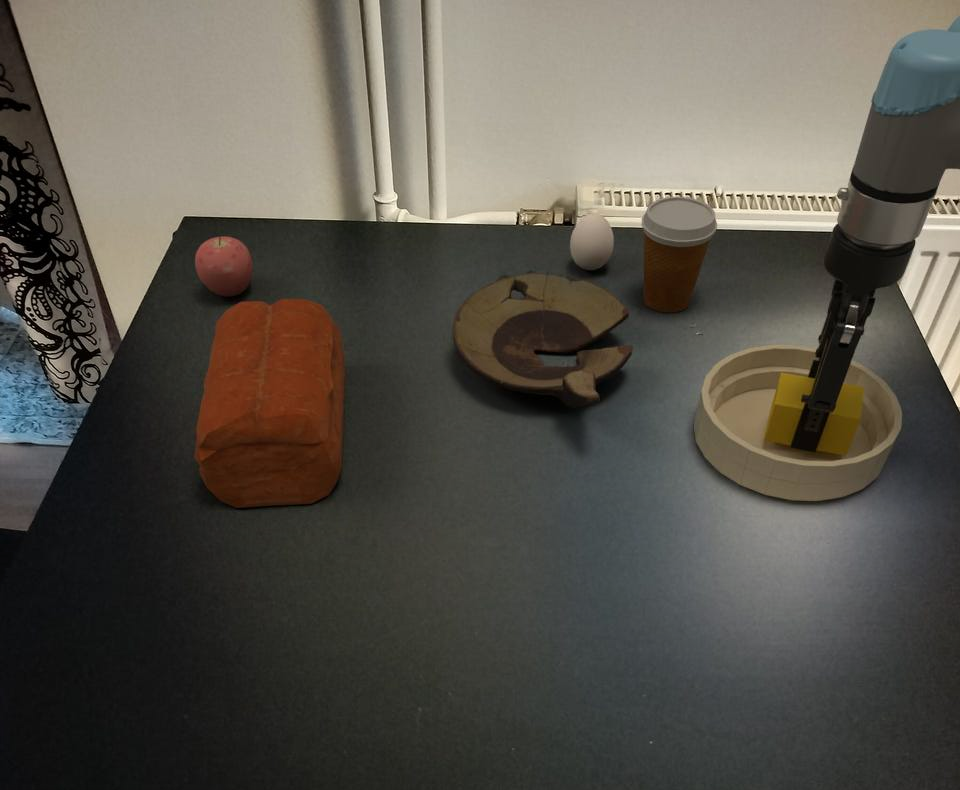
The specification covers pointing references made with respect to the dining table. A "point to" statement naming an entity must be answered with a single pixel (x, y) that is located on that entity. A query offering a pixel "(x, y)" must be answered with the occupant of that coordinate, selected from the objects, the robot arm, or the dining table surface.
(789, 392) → the sponge
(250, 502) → the bread
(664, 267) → the disposable coffee cup
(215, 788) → the dining table surface
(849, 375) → the bowl
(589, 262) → the egg
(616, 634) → the dining table surface
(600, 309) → the broken ceramic plate
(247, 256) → the apple
